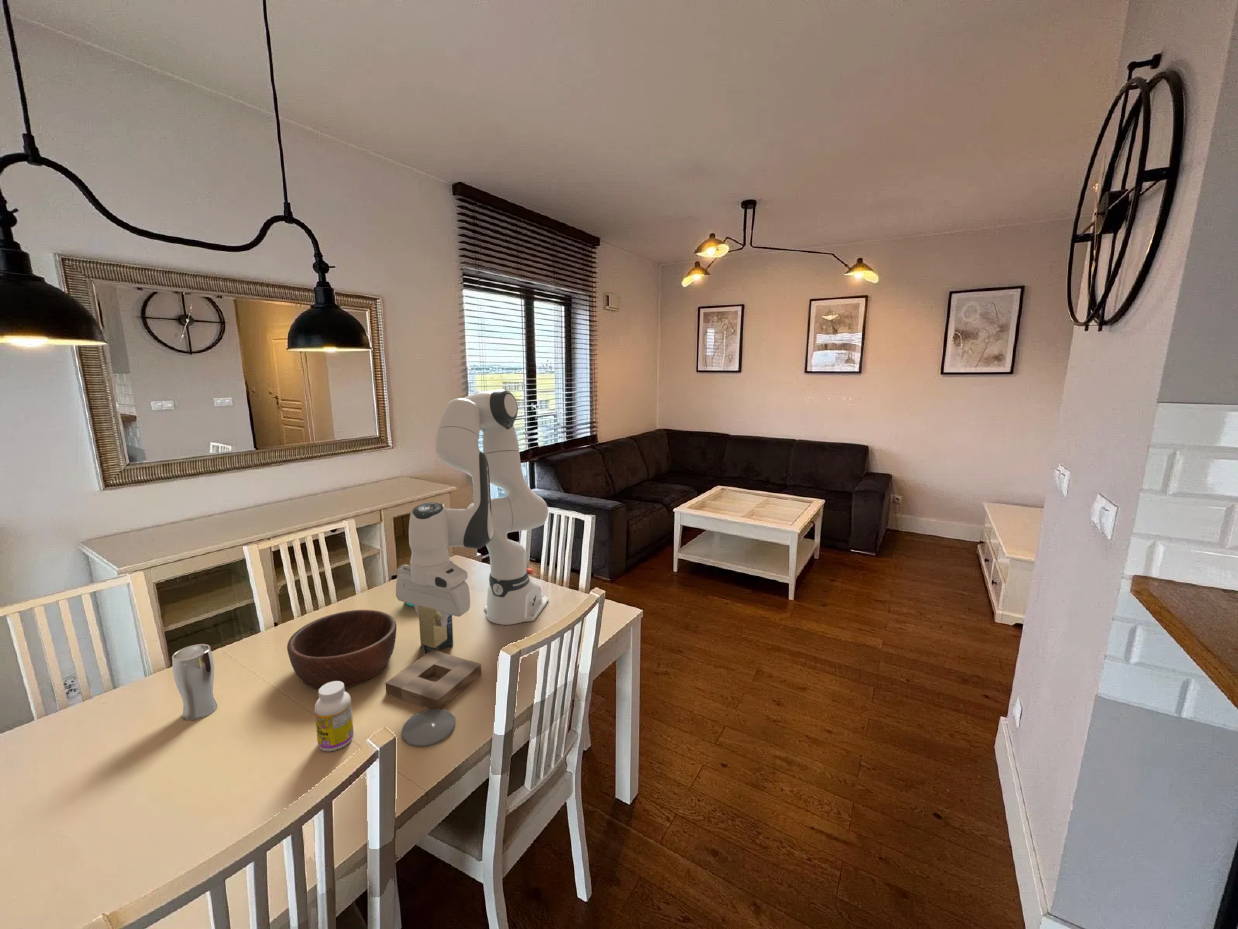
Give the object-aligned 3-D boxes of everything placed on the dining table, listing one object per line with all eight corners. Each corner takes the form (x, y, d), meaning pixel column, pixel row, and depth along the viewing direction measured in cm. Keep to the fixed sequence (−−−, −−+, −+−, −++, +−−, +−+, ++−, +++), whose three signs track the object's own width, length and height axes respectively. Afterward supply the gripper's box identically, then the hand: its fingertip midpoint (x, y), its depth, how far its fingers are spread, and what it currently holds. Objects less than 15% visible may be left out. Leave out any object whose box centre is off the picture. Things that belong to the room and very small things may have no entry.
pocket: (433, 659, 138) (432, 649, 137) (481, 674, 132) (481, 664, 131) (386, 693, 123) (385, 682, 123) (437, 712, 117) (437, 700, 117)
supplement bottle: (313, 742, 107) (307, 688, 105) (346, 726, 112) (341, 674, 110) (325, 758, 103) (320, 702, 100) (359, 740, 108) (354, 686, 105)
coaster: (427, 706, 119) (427, 703, 119) (465, 720, 115) (465, 717, 115) (390, 737, 109) (390, 734, 109) (430, 753, 105) (430, 750, 105)
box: (425, 654, 140) (423, 619, 138) (420, 644, 145) (418, 610, 143) (453, 646, 144) (452, 612, 142) (448, 637, 149) (447, 604, 147)
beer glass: (176, 725, 111) (166, 664, 108) (185, 706, 117) (175, 647, 114) (216, 716, 114) (207, 656, 111) (222, 698, 120) (214, 640, 117)
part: (433, 635, 128) (431, 598, 126) (447, 639, 127) (445, 602, 124) (420, 643, 124) (418, 606, 122) (434, 648, 123) (432, 610, 120)
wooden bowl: (340, 636, 148) (337, 604, 146) (417, 648, 143) (415, 615, 141) (265, 689, 124) (261, 651, 122) (355, 705, 119) (351, 666, 117)
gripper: (387, 567, 122) (391, 619, 125) (455, 584, 115) (457, 639, 118) (407, 558, 128) (410, 608, 131) (473, 573, 121) (474, 626, 124)
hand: (433, 623), depth 124 cm, fingers closed on part, 4 cm apart
